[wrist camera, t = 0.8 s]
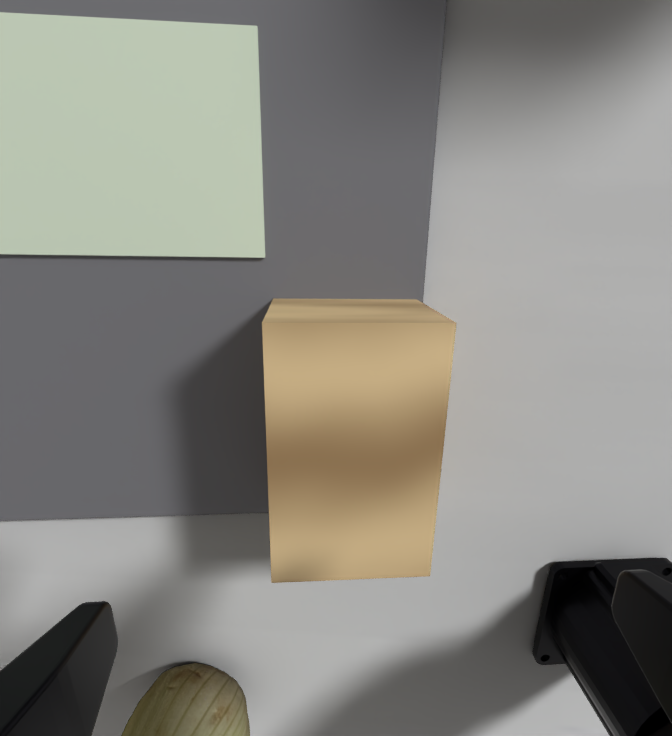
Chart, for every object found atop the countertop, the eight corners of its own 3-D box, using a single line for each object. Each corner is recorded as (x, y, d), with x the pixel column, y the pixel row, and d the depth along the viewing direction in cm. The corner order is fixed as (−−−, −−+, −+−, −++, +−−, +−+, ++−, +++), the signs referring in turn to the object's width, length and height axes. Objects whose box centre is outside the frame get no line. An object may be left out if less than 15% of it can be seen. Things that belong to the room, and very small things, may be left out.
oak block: (401, 499, 19) (429, 576, 15) (279, 502, 19) (271, 582, 14) (416, 299, 16) (456, 323, 12) (273, 298, 16) (261, 322, 12)
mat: (403, 500, 20) (407, 511, 19) (-2, 512, 19) (-15, 524, 18) (443, -27, 14) (451, -42, 13) (-155, -65, 12) (-185, -84, 12)
